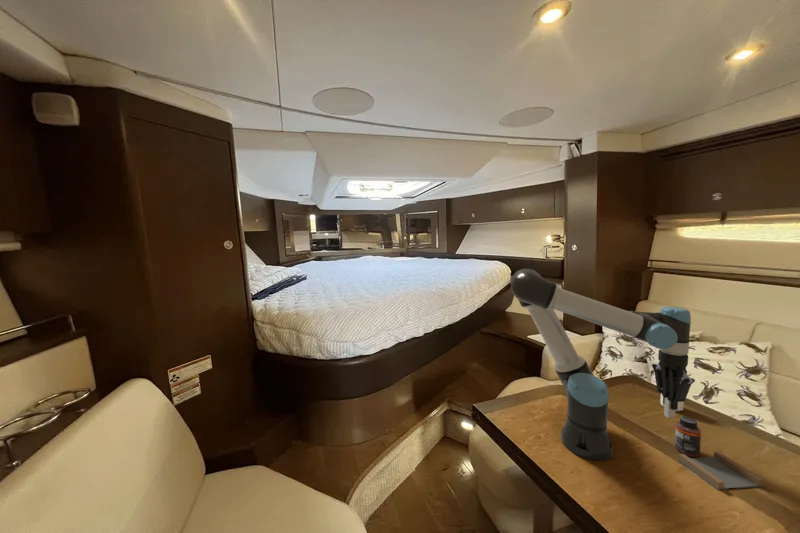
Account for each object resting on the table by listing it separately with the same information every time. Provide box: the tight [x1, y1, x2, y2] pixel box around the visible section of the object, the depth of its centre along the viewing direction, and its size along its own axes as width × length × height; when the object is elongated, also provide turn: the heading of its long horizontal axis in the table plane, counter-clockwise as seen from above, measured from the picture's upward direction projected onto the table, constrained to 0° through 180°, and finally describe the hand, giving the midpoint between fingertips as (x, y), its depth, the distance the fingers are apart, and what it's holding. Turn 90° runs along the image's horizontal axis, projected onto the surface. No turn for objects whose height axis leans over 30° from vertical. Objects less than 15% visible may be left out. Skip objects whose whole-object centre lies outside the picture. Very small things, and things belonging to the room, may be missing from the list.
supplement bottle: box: [674, 415, 702, 458], centre depth 96 cm, size 6×6×11 cm
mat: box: [677, 451, 764, 491], centre depth 87 cm, size 14×11×2 cm
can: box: [659, 382, 685, 412], centre depth 121 cm, size 7×7×12 cm
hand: (669, 416), depth 102 cm, fingers closed
